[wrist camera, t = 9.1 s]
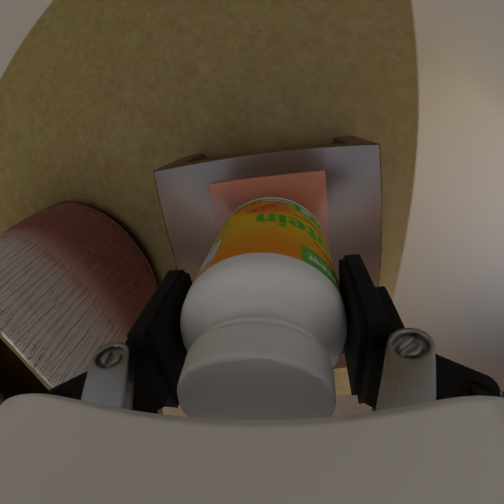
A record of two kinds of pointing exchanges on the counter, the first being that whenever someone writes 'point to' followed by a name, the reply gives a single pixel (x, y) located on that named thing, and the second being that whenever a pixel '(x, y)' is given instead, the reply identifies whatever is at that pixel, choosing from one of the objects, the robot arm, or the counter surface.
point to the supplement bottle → (263, 319)
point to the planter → (65, 295)
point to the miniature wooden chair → (283, 186)
